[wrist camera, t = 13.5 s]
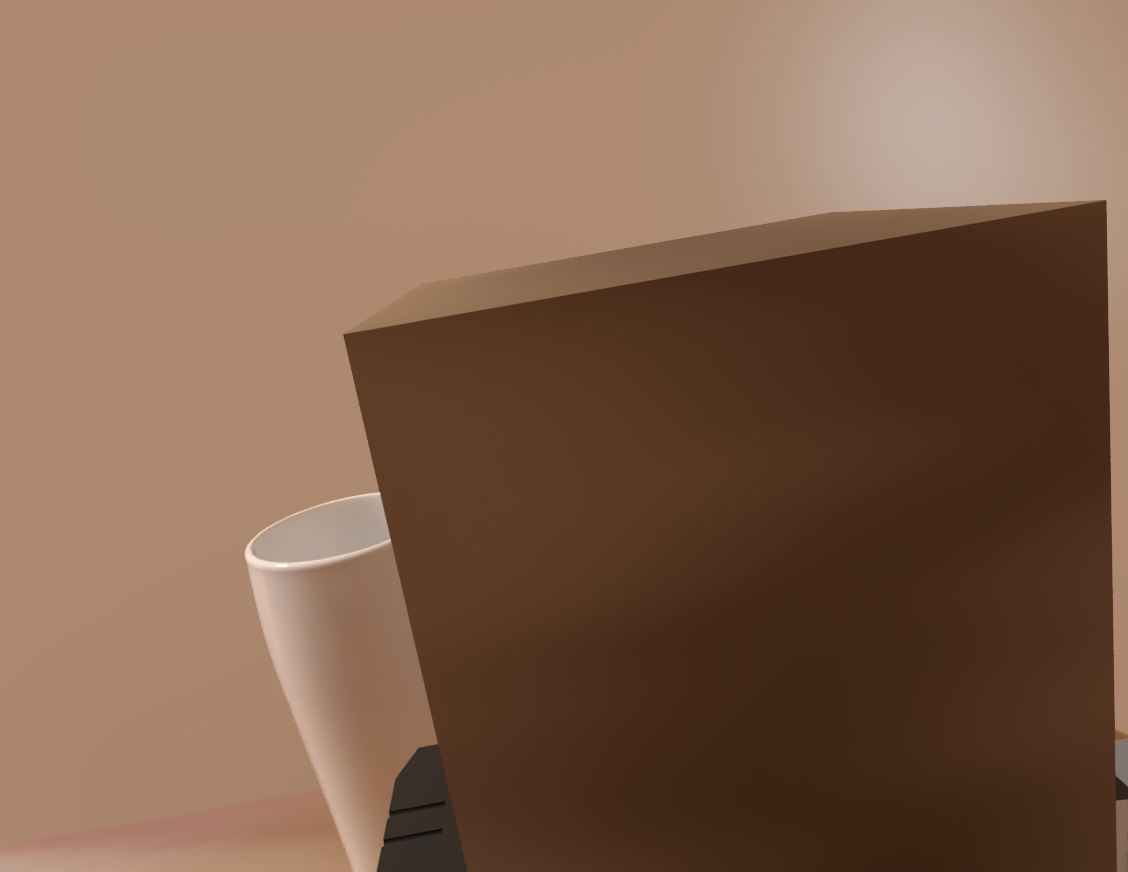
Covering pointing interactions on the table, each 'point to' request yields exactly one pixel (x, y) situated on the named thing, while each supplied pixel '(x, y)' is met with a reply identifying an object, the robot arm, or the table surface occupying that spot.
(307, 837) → the table surface
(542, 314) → the tall brown pillar
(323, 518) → the drinking glass
